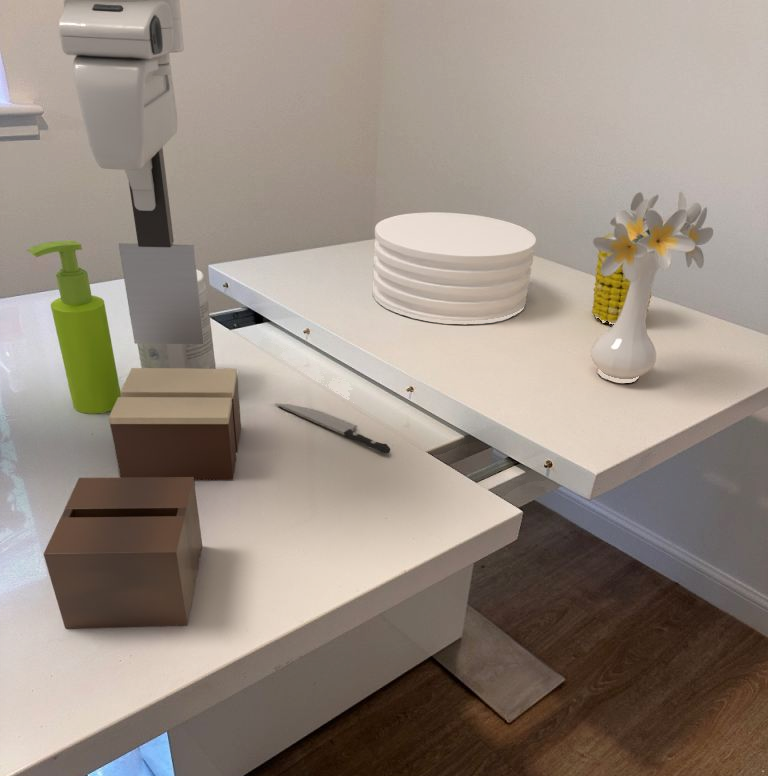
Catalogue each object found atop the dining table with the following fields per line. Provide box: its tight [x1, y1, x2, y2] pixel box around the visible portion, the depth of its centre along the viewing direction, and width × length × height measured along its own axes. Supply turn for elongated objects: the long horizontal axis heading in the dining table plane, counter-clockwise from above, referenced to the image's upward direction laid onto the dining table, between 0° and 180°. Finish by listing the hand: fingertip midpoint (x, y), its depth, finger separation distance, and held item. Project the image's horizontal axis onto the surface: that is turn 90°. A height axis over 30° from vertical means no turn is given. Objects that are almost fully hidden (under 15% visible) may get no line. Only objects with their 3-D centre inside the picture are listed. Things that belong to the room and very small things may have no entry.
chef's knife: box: [273, 402, 391, 454], centre depth 90 cm, size 19×1×3 cm
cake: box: [120, 367, 242, 454], centre depth 83 cm, size 12×6×8 cm, turn 95°
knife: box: [118, 146, 204, 344], centre depth 69 cm, size 7×2×19 cm, turn 95°
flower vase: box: [589, 190, 714, 379], centre depth 99 cm, size 13×18×25 cm
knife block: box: [43, 476, 203, 629], centre depth 62 cm, size 10×11×8 cm
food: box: [591, 232, 652, 323], centre depth 122 cm, size 15×12×10 cm
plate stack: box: [372, 211, 537, 321], centre depth 128 cm, size 28×28×12 cm
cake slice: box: [108, 397, 237, 481], centre depth 78 cm, size 12×5×8 cm, turn 95°
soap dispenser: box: [26, 239, 121, 415], centre depth 86 cm, size 6×7×20 cm
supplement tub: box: [136, 268, 217, 369], centre depth 93 cm, size 10×10×15 cm
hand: (150, 204), depth 66 cm, fingers closed on knife, 2 cm apart
